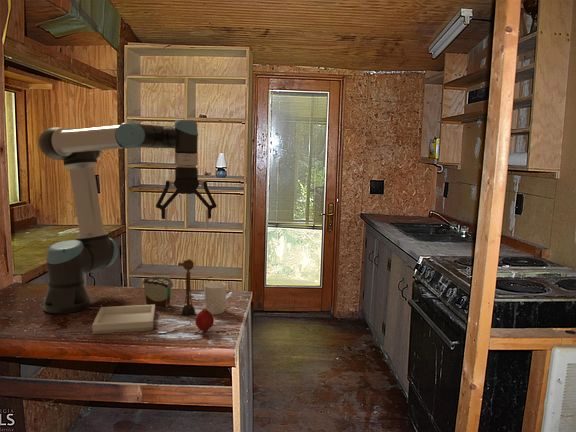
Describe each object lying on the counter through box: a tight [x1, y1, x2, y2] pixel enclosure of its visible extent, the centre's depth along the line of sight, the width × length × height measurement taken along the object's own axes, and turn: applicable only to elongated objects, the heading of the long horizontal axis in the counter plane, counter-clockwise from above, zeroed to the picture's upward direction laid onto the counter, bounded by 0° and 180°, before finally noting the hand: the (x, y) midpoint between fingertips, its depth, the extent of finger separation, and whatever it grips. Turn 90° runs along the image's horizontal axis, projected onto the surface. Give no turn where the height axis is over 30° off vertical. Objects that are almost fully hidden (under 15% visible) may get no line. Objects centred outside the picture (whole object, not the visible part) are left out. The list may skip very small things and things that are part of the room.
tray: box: [91, 304, 156, 335], centre depth 149 cm, size 18×16×3 cm
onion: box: [194, 307, 215, 333], centre depth 143 cm, size 6×6×8 cm
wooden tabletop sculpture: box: [177, 258, 196, 317], centre depth 157 cm, size 6×5×20 cm
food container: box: [142, 276, 174, 310], centre depth 166 cm, size 12×6×10 cm, turn 65°
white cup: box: [203, 281, 227, 315], centre depth 161 cm, size 8×8×10 cm
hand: (186, 228), depth 154 cm, fingers open, 13 cm apart
